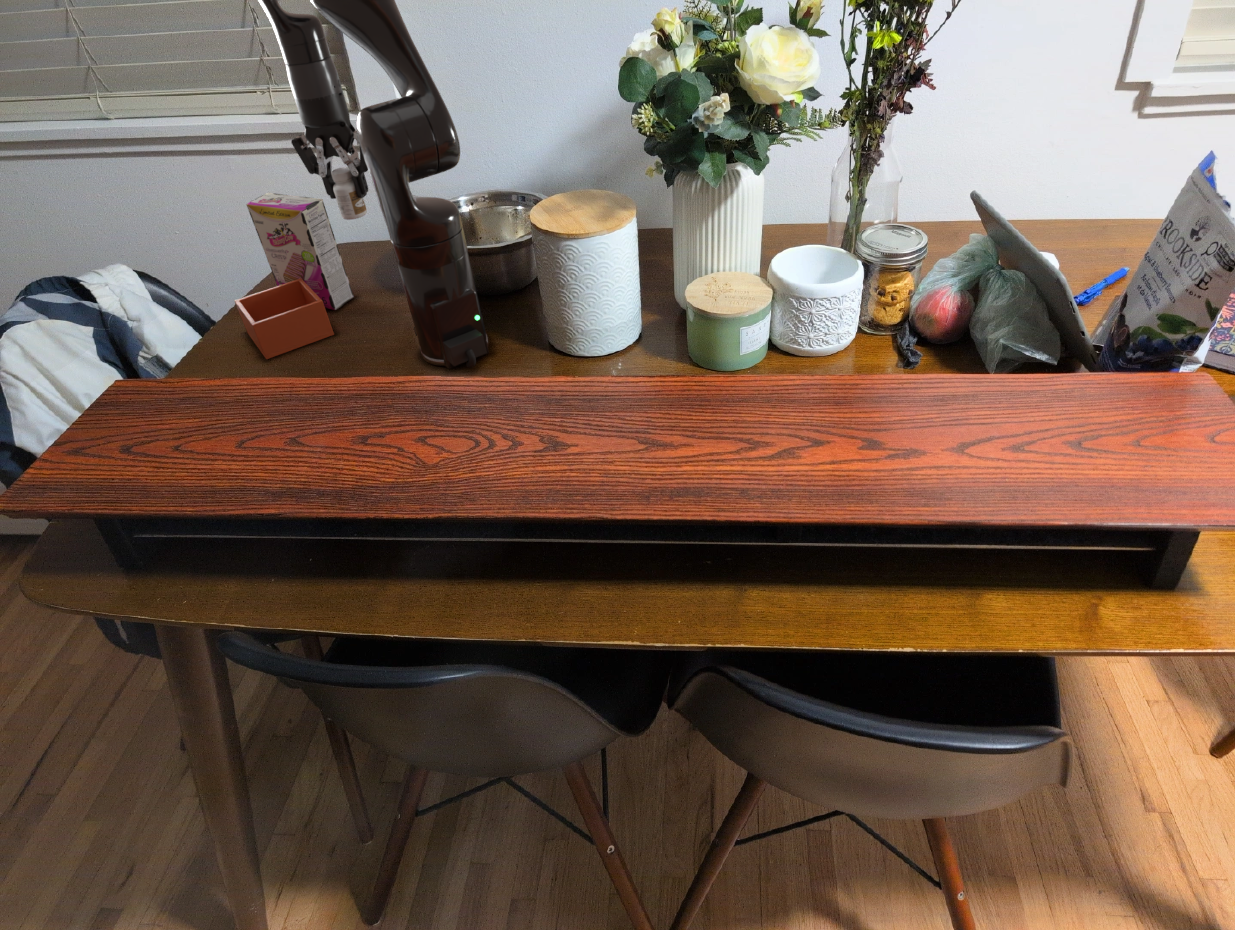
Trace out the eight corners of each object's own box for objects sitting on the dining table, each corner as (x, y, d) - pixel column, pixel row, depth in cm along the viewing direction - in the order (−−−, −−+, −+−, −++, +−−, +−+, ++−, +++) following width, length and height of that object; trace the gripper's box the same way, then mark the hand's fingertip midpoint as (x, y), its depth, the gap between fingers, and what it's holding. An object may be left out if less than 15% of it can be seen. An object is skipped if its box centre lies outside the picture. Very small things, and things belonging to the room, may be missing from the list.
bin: (334, 334, 125) (322, 300, 122) (266, 359, 122) (252, 325, 118) (312, 310, 132) (301, 277, 129) (247, 333, 128) (233, 300, 125)
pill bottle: (363, 219, 144) (350, 173, 139) (338, 221, 144) (324, 176, 140) (370, 209, 147) (357, 164, 143) (346, 211, 148) (332, 167, 143)
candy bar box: (281, 303, 136) (243, 203, 125) (302, 289, 139) (267, 191, 129) (335, 312, 131) (300, 209, 121) (355, 297, 135) (323, 196, 125)
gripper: (264, 99, 132) (301, 206, 142) (348, 94, 129) (379, 204, 139) (288, 86, 138) (321, 190, 148) (368, 81, 135) (396, 187, 145)
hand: (349, 196), depth 144 cm, fingers closed on pill bottle, 4 cm apart
